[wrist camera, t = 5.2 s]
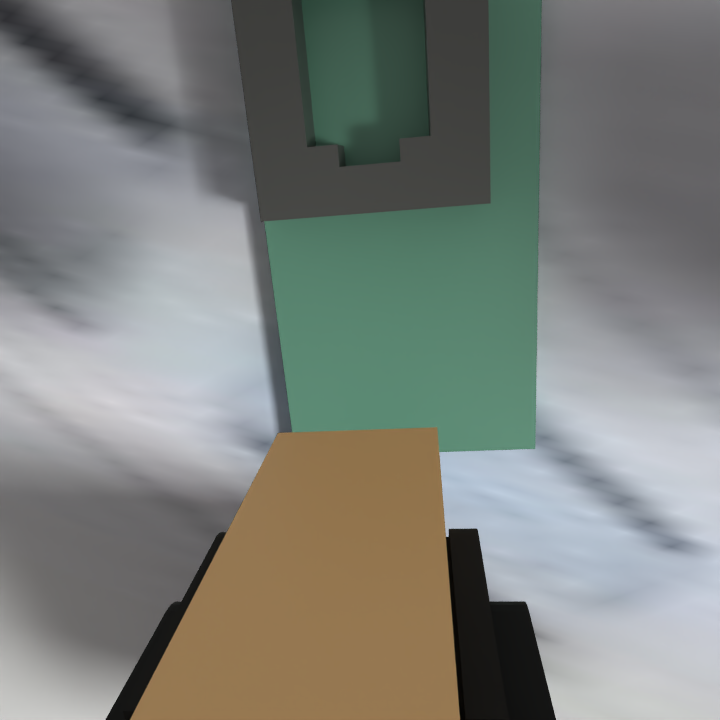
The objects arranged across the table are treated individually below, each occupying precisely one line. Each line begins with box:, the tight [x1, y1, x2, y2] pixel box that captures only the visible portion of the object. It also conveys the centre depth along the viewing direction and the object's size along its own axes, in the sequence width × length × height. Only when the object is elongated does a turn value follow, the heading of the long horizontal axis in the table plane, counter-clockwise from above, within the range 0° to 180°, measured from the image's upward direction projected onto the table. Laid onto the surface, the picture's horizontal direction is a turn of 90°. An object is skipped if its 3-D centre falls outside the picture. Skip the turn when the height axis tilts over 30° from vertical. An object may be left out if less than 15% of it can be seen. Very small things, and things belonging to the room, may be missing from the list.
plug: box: [130, 427, 460, 720], centre depth 10 cm, size 4×6×9 cm, turn 5°
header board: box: [231, 0, 542, 452], centre depth 27 cm, size 13×26×4 cm, turn 5°
